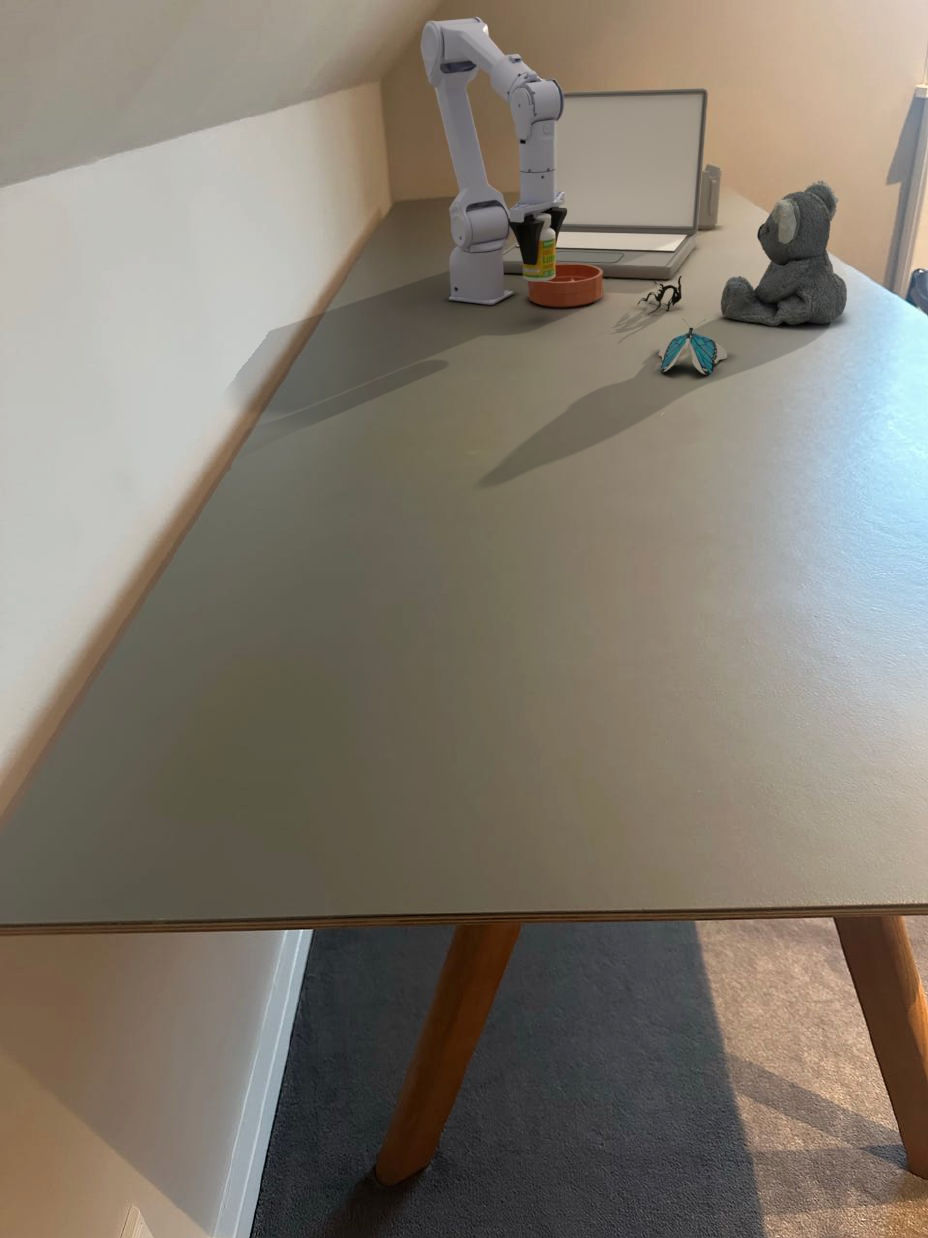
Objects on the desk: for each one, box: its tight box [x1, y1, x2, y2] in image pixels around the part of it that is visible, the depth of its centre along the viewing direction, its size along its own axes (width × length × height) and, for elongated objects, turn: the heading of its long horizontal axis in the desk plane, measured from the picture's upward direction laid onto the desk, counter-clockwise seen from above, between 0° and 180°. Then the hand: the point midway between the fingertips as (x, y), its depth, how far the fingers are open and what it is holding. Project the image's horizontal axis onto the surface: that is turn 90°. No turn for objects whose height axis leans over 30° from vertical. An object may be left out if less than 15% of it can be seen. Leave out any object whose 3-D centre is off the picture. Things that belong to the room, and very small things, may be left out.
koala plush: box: [720, 179, 848, 327], centre depth 149 cm, size 17×18×20 cm
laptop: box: [503, 87, 709, 280], centre depth 183 cm, size 36×28×29 cm
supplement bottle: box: [522, 213, 555, 282], centre depth 153 cm, size 5×5×10 cm
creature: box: [636, 275, 683, 315], centre depth 160 cm, size 8×5×8 cm
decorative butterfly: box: [658, 318, 728, 376], centre depth 136 cm, size 10×6×10 cm
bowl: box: [527, 263, 604, 308], centre depth 168 cm, size 13×13×4 cm
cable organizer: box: [698, 163, 723, 230], centre depth 208 cm, size 7×12×12 cm, turn 12°
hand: (538, 259), depth 154 cm, fingers closed on supplement bottle, 5 cm apart
